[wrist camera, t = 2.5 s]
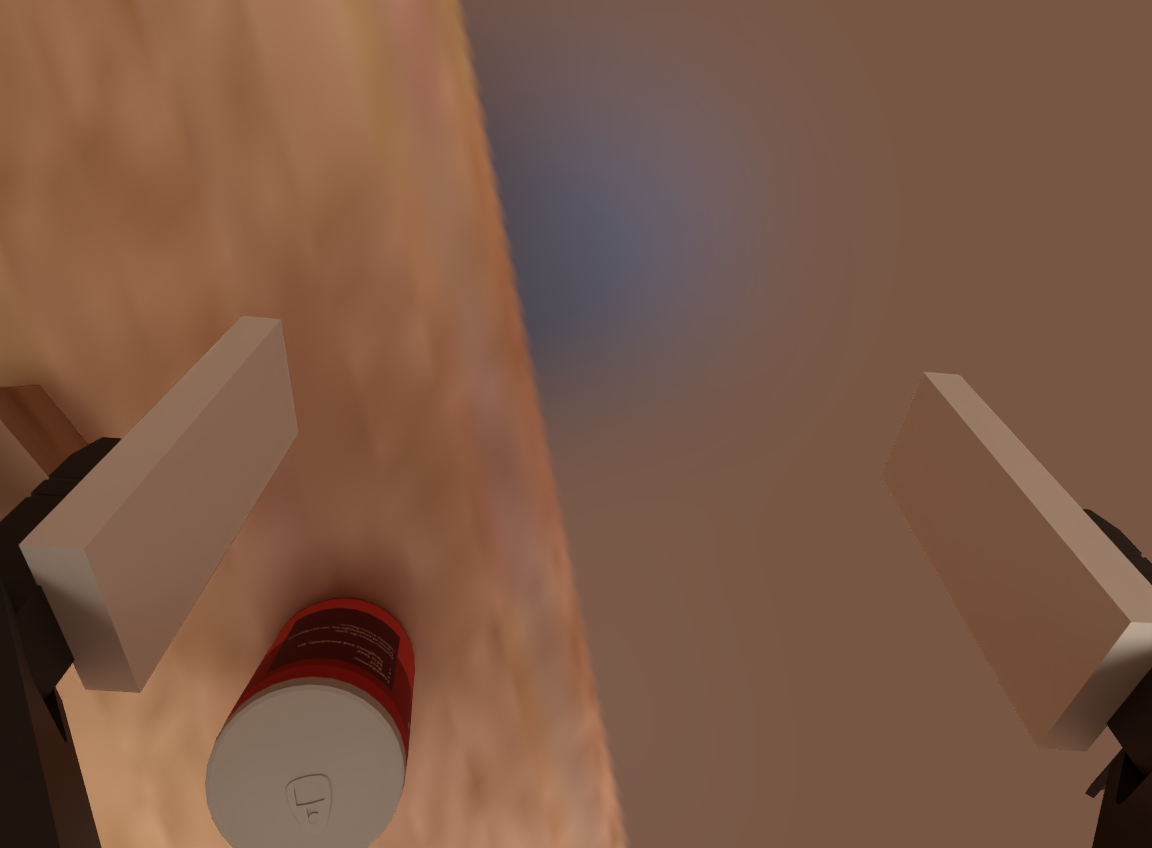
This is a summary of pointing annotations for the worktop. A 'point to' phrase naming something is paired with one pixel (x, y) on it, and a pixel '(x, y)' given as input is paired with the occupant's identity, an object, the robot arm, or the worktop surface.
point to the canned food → (317, 734)
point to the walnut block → (31, 442)
